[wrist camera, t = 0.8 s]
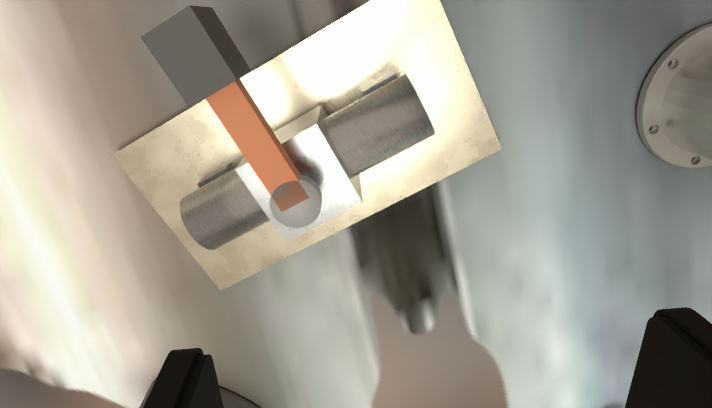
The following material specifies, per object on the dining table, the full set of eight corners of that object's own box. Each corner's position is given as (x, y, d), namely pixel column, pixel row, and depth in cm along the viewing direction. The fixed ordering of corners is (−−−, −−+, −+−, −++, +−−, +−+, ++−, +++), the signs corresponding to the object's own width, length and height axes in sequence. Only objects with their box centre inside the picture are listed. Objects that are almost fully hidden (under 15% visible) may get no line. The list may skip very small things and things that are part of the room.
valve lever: (331, 198, 30) (330, 223, 26) (291, 219, 30) (284, 246, 27) (213, 6, 25) (191, 4, 21) (168, 35, 25) (138, 38, 22)
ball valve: (422, -31, 34) (460, -54, 23) (496, 144, 40) (554, 191, 29) (119, 150, 39) (33, 200, 28) (224, 282, 44) (186, 366, 34)
